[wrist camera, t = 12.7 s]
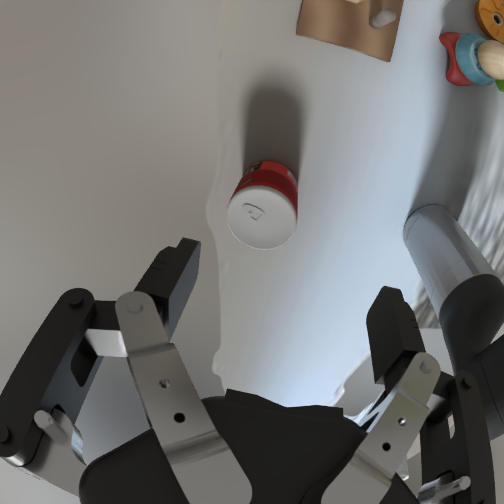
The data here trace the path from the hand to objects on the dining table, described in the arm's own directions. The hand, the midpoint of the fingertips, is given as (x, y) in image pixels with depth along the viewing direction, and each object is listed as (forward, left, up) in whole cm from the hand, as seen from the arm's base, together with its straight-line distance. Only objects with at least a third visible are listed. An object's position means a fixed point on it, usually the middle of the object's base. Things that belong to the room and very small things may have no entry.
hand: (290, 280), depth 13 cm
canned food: (+2, +8, -30) cm, 31 cm away
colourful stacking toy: (-23, -23, -30) cm, 45 cm away
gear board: (-3, -25, -30) cm, 39 cm away
